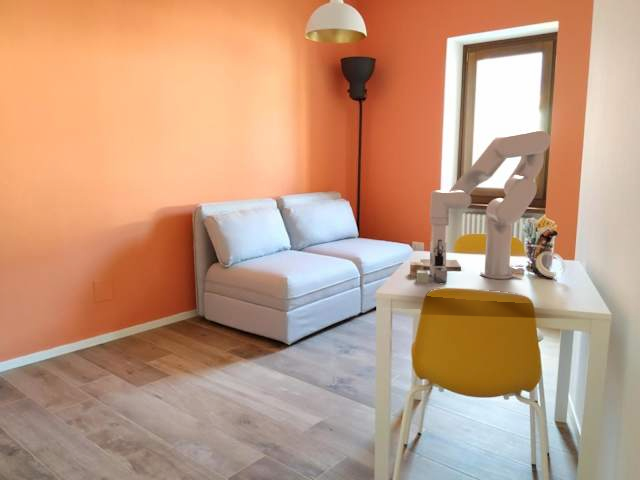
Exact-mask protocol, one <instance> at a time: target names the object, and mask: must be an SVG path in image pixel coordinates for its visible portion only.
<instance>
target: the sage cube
mask: <svg viewBox="0 0 640 480" xmlns="http://www.w3.org/2000/svg"><path fill="white" fill-rule="evenodd" d="M416 282H417V283H419V284H420V283H421V284H428V282H429V272H428V270H423V271H419V270H417V277H416Z"/></svg>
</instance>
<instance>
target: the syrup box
mask: <svg viewBox="0 0 640 480" xmlns="http://www.w3.org/2000/svg"><path fill="white" fill-rule="evenodd" d="M429 241H430V242H429V243H430V245H429V246H430V247H429V259H430V270H429V275H430V276H431V277H432V278H434V269H435V268H444V269H446V260H447V242H446V241H445V249H444V250H443V266H435V256H436V249H434V250H433V249H432V248H431V247H432V242H431V240H429ZM437 249H439V248H437Z"/></svg>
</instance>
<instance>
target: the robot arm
mask: <svg viewBox="0 0 640 480" xmlns="http://www.w3.org/2000/svg"><path fill="white" fill-rule="evenodd" d="M550 145H551V136H550V134H549V133H548V132H547V131H545V130H541V129H536V130H535V129H532V130H526V131H524V132H523V133H517V134H509V135H508V134H507V135H498V136H497V137H495V138H494V139H493V140H492V141H491V142H490V144H489V145H488V146H487V147H486V148H485V150H484V151H483V152H482V153H481V155H480V156H479V157H478V158H477V160H476V161H475V162H474V163H473V165H471V166H470V167H469V169H467V171H465V172H464V174H462V175H461V176H460V177H459V179H458V180H457V181H456V182H455V183H454V185H453V186H451V189H449V190H442V189H440V190H438V189H437V190H433V191H431V193H430V206H429V209H430V211H429V225H430V226H431V232H430V241H431V242H432V247H431V248H432V249H433V250H434V249H436V256H435V266H443V250H444V249H445V242H446V234H447V227H449V225H450V210H452V209H453V210H460V211H461V210H465V209H467V208H469V207H470V206H471V204H472V197H471V193H472V192H473V191H474V190H475V188H477V187H478V186H479V185H481V184H483V183H484V182H487V181H488V180H490V179H491V178H492V177H493V176H494V175H495V173H496V172H497V171H498V170H499V168H500V167H501V166H502V165H503V164H504V162H505V161H506V160H507V159H510V158H511V159H512V158H518V157H520V161H519V162H518V163H517V166H516V167H515V169H514V170H513V171H512V173H511V175H510V176H509V177H508V178H507V180H506V181H505V183H504V185H503V192H504V194H505V195H504V197H503V198H502V197H499V198H498V197H497V198H494V199H492V200H491V201H490V202H489V203H488V204H487V207H486V212H485V217H486V219H485V220H486V239H485V258H484V269H483V270H481V271H480V275H481V277H484V278H488V279H496V280H506V279H511V278H514V274H513V273H522V272H523V271H522V270H523V269H522V267H517V266H512V265H511V262H510V261H511V247H512V236H513V235H512V234H513V233H512V232H513V231H512V230H513V229H512V228H513V227H512V225H514V224H516V223H517V222H518V221H519V220H520V219H521V218H522V216H523V215H524V213H525V212H526V210H527V209H528V207H529V206H530V205H531V203H532V201H533V200H534V199H535V196H536V195H537V189H538V187H537V186H538V185H537V183H536V181H535V180H536V179H537V177H538V175H539V173H540V172H541V170H542V169H543V165H544V161H545V160H544V158H545V157H544V156H545V155H544V152H545V151H546V150H548V148H549V147H550ZM437 248H439V249H437Z"/></svg>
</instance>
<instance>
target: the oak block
mask: <svg viewBox="0 0 640 480" xmlns="http://www.w3.org/2000/svg"><path fill="white" fill-rule="evenodd" d="M417 270H419V271H424V270H423V262H421V261H420V262H419V261H415V262H414V261H410V263H409V275H410V277H416V278H417Z"/></svg>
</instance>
